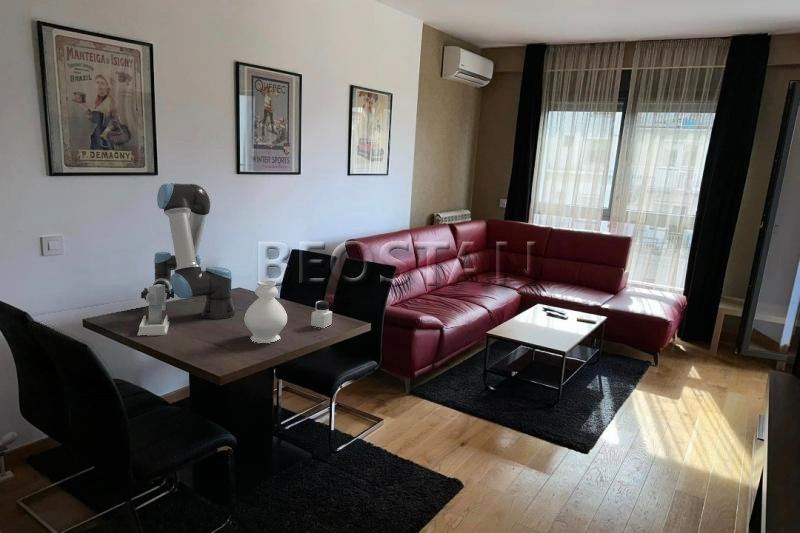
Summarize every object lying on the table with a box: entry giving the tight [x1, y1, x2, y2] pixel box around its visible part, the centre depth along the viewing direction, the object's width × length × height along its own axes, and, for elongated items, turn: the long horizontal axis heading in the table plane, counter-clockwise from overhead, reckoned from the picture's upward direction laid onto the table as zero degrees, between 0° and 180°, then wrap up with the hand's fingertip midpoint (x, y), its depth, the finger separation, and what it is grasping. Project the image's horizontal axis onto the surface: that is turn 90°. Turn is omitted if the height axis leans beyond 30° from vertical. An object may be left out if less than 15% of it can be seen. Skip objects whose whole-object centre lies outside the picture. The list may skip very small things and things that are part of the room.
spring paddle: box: [148, 304, 163, 323], centre depth 234 cm, size 5×1×8 cm, turn 109°
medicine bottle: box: [310, 300, 333, 329], centre depth 250 cm, size 7×7×12 cm
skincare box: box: [148, 284, 166, 312], centre depth 244 cm, size 6×4×12 cm
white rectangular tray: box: [137, 314, 170, 337], centre depth 230 cm, size 11×16×4 cm
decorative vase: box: [243, 279, 288, 344], centre depth 226 cm, size 18×18×25 cm
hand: (156, 299), depth 239 cm, fingers closed on skincare box, 7 cm apart
